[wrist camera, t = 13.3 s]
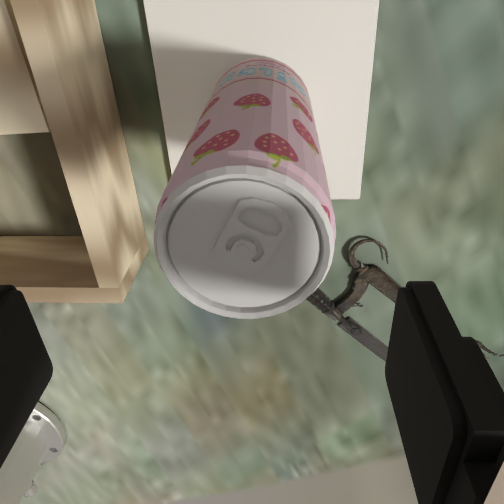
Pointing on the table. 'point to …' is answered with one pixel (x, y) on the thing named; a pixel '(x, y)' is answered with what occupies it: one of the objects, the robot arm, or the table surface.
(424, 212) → the table surface
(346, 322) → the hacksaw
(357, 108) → the pad
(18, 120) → the offcut upper
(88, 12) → the frame
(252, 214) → the beverage can
